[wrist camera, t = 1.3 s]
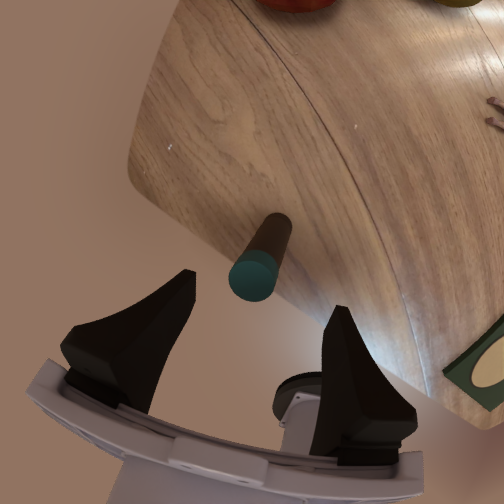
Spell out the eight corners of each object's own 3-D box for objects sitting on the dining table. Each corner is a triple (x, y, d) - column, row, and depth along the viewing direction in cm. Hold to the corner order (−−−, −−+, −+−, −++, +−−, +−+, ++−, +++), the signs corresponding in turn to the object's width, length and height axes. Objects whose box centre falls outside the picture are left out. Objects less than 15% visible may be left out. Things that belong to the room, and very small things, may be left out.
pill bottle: (289, 244, 25) (269, 307, 16) (260, 236, 26) (225, 294, 17) (295, 216, 24) (278, 267, 15) (265, 208, 24) (231, 255, 15)
